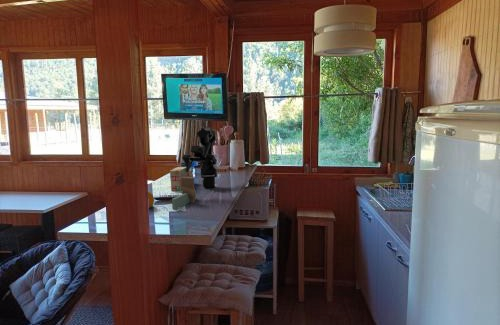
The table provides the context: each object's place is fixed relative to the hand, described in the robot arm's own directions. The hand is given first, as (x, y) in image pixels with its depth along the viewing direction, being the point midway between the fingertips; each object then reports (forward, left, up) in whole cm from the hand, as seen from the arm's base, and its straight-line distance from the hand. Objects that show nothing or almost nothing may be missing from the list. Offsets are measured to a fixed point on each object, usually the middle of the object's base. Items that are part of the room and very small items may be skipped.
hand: (194, 172), depth 195 cm
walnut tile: (+5, +8, -14) cm, 17 cm away
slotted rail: (+8, +11, -14) cm, 19 cm away
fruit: (+28, +9, -14) cm, 33 cm away
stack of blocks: (+2, -31, -14) cm, 34 cm away
